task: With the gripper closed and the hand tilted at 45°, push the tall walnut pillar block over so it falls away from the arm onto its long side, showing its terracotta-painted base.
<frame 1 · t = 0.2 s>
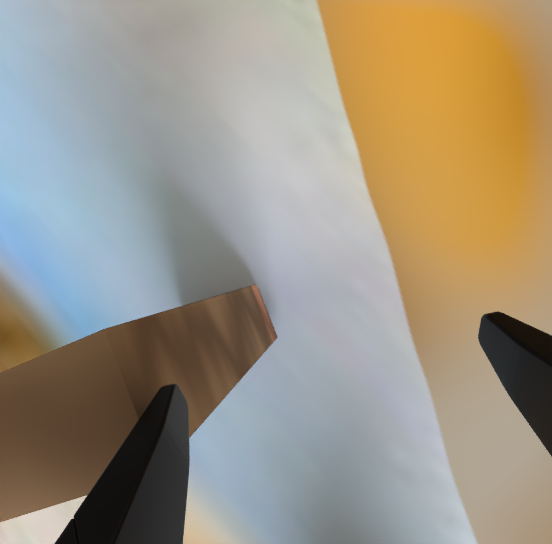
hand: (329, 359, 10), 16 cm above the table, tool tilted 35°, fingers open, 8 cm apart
walnut pillar: (229, 325, 26), on the table, tilted 10°, touching gripper
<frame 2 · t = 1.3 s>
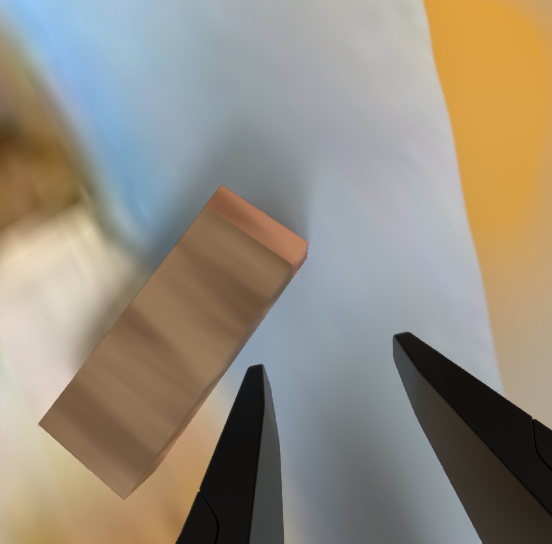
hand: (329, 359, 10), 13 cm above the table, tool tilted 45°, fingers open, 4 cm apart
walnut pillar: (267, 224, 22), point 2 cm above the table, tilted 90°
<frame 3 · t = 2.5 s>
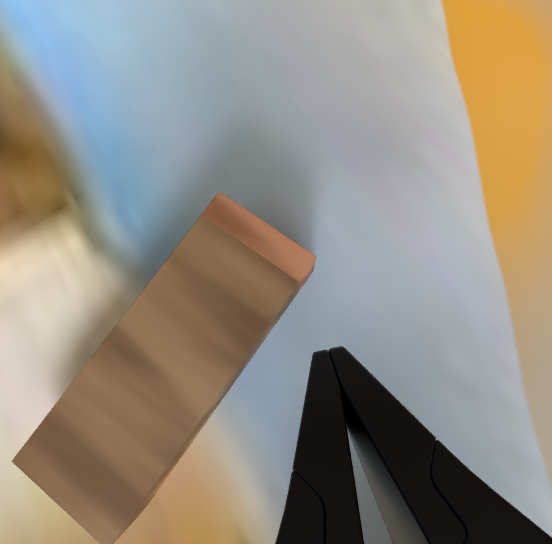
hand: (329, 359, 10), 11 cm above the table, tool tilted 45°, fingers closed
walnut pillar: (269, 234, 20), point 2 cm above the table, tilted 90°
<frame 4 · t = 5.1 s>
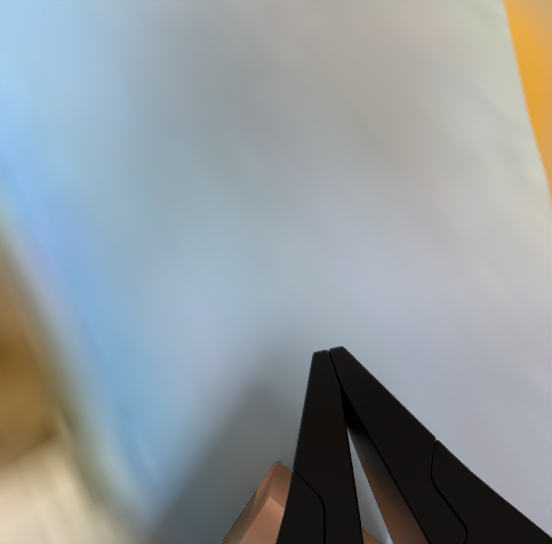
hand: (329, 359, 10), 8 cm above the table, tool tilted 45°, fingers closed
walnut pillar: (334, 524, 14), point 2 cm above the table, tilted 90°
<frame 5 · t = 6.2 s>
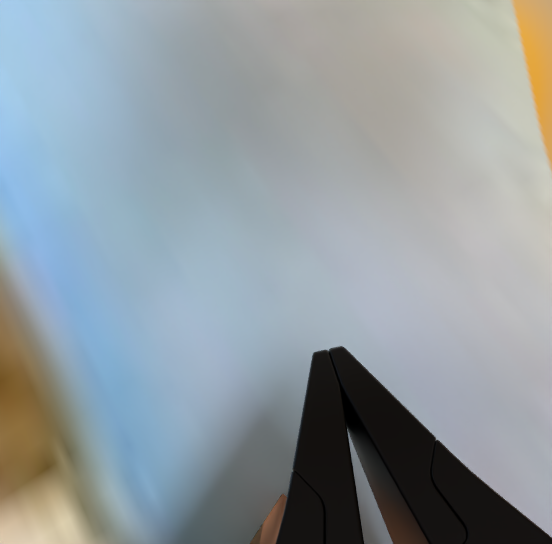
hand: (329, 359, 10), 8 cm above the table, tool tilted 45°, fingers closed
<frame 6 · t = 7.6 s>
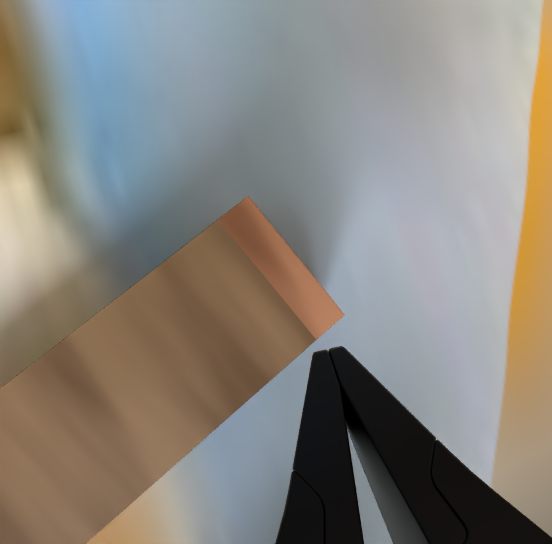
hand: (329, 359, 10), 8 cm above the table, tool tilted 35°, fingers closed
walnut pillar: (288, 260, 16), point 2 cm above the table, tilted 90°
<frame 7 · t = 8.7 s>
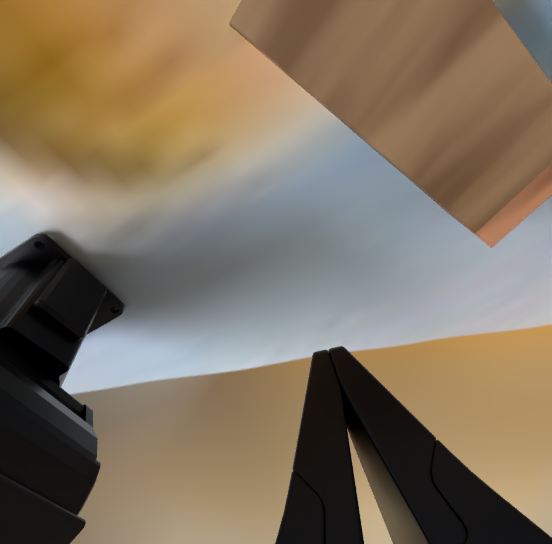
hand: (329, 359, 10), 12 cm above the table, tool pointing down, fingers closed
walnut pillar: (515, 188, 19), point 2 cm above the table, tilted 90°
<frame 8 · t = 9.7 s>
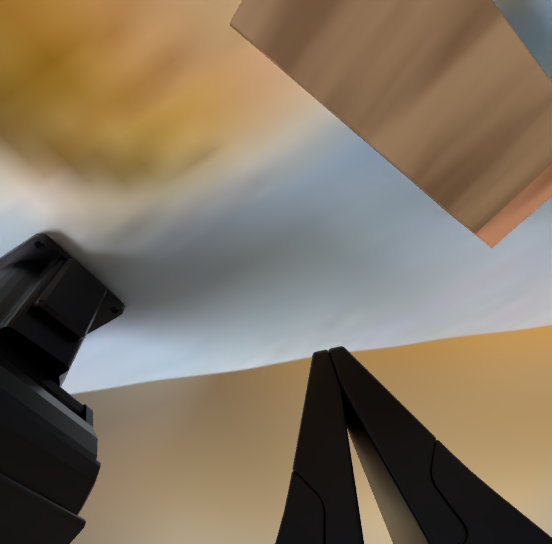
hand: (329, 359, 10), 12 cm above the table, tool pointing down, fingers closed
walnut pillar: (515, 188, 19), point 2 cm above the table, tilted 90°
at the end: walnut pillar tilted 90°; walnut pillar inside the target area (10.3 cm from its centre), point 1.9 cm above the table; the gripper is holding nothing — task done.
